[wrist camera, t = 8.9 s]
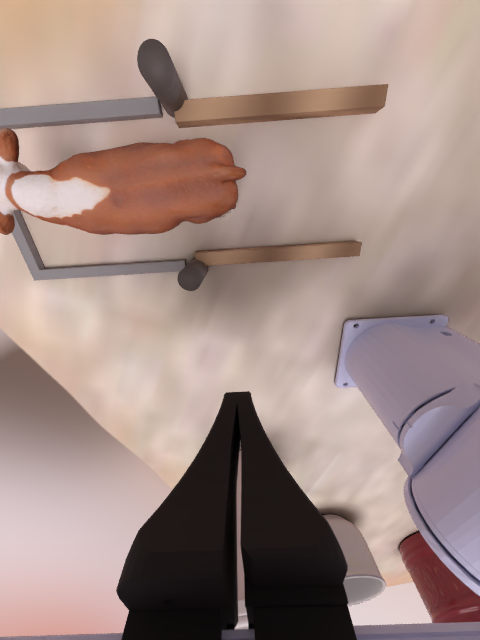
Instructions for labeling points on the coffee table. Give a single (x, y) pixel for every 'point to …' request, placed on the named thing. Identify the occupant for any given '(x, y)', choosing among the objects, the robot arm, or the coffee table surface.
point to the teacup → (356, 562)
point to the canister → (438, 584)
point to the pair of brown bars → (245, 110)
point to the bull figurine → (122, 187)
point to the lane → (78, 115)
